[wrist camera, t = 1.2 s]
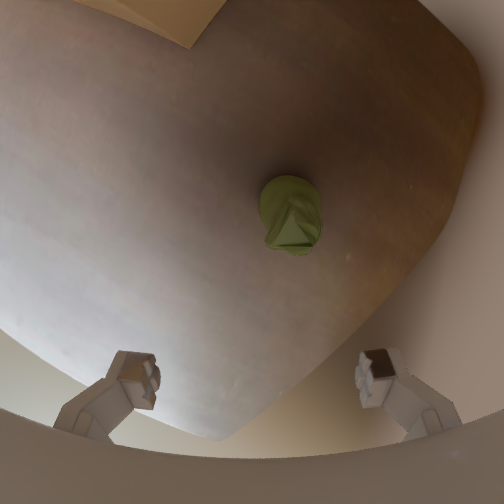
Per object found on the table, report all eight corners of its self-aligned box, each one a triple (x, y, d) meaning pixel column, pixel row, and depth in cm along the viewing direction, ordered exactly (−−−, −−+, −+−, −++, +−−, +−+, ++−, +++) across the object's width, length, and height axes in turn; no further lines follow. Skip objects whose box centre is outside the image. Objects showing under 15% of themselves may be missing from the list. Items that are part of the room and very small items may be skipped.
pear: (295, 230, 32) (310, 284, 23) (248, 209, 31) (245, 257, 22) (322, 183, 29) (350, 221, 20) (274, 159, 28) (282, 187, 20)
